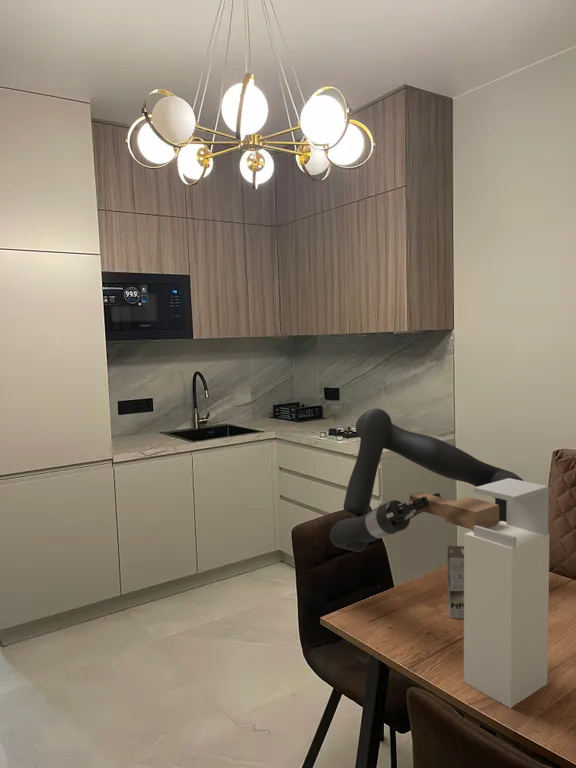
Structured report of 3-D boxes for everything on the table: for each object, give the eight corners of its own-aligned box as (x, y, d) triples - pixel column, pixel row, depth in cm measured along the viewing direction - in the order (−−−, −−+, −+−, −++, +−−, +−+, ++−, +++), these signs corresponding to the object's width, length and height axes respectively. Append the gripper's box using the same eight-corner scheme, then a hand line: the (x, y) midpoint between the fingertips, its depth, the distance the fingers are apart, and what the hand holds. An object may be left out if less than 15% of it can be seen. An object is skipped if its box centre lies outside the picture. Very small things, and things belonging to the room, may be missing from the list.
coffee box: (475, 620, 149) (475, 558, 148) (449, 618, 150) (449, 557, 149) (471, 603, 158) (471, 545, 157) (446, 602, 159) (446, 544, 158)
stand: (463, 682, 123) (464, 486, 119) (500, 660, 130) (502, 476, 127) (510, 708, 114) (512, 497, 110) (547, 683, 121) (550, 485, 118)
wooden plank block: (403, 509, 137) (403, 492, 137) (426, 502, 142) (426, 486, 141) (476, 531, 121) (476, 512, 120) (499, 523, 125) (499, 504, 125)
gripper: (361, 510, 144) (406, 488, 132) (401, 500, 153) (447, 478, 140) (372, 540, 142) (418, 520, 129) (412, 528, 150) (459, 508, 138)
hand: (433, 498), depth 135 cm, fingers closed on wooden plank block, 4 cm apart
